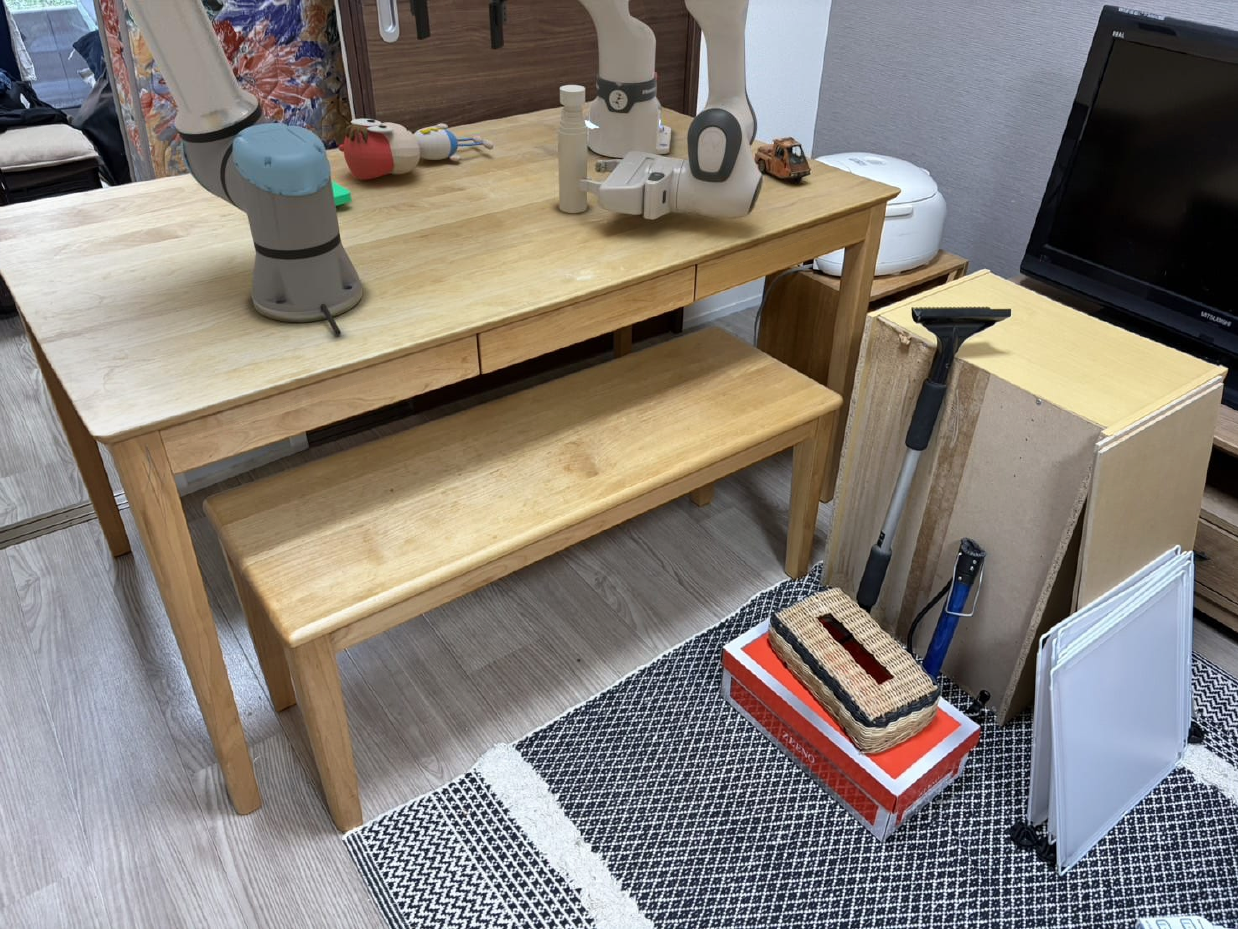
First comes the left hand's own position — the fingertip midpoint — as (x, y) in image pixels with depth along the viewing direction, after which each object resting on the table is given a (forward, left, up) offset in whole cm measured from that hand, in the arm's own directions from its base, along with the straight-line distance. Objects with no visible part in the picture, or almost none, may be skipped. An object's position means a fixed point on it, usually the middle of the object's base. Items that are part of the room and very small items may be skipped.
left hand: (460, 42), depth 149 cm
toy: (+23, +1, -27) cm, 36 cm away
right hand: (-11, -18, -21) cm, 29 cm away
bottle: (-9, -16, -27) cm, 33 cm away
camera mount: (+13, +24, -27) cm, 38 cm away
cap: (-9, -16, -7) cm, 19 cm away
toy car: (-13, -60, -27) cm, 67 cm away
